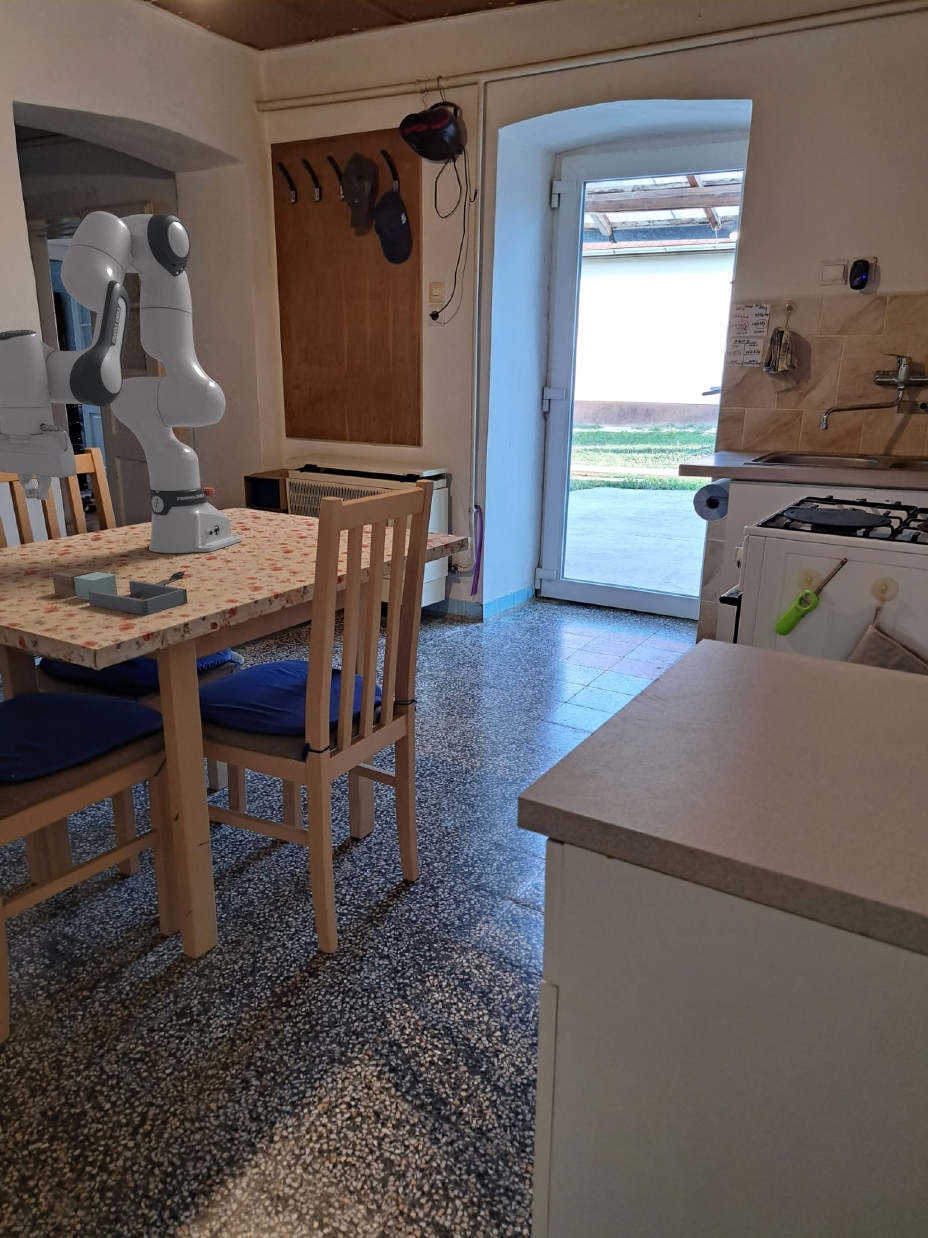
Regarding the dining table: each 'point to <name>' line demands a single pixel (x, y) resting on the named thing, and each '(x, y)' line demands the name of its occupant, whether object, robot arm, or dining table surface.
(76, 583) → the pale blue cube
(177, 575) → the tactical tomahawk
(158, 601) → the tray
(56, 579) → the brown block
